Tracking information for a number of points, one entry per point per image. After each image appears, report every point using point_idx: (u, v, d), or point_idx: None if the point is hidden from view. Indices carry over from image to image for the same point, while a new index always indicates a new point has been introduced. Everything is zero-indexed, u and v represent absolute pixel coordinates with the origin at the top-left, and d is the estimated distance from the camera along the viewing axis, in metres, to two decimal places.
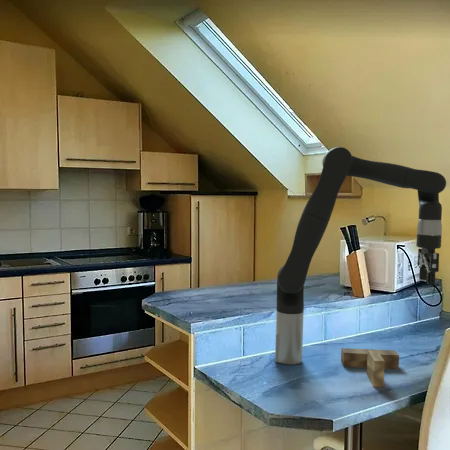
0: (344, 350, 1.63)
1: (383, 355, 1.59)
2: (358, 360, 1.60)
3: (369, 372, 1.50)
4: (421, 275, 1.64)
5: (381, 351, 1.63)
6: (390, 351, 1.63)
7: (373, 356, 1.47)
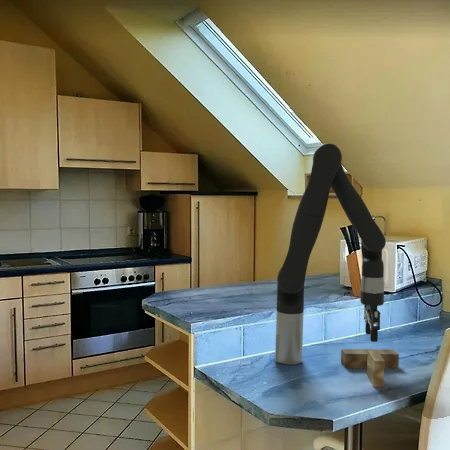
0: (345, 351, 1.62)
1: (383, 355, 1.60)
2: (359, 361, 1.60)
3: (369, 372, 1.50)
4: (367, 330, 1.66)
5: (380, 351, 1.63)
6: (389, 350, 1.64)
7: (373, 356, 1.47)
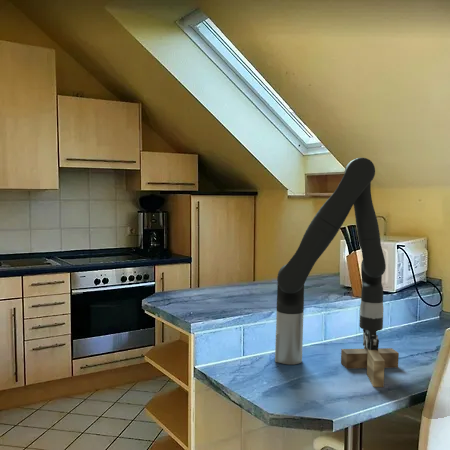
0: (346, 351, 1.61)
1: (384, 354, 1.60)
2: (360, 360, 1.59)
3: (369, 372, 1.50)
4: None
5: (380, 350, 1.63)
6: (388, 349, 1.65)
7: (373, 356, 1.47)
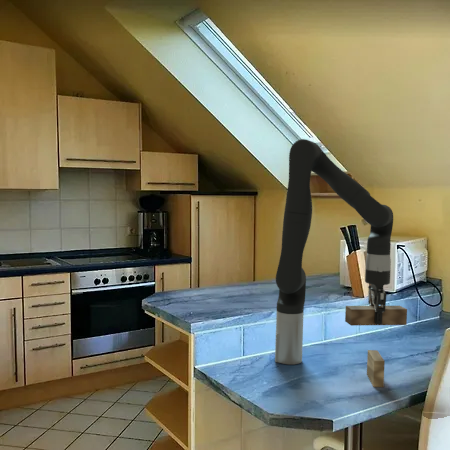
0: (350, 307, 1.50)
1: (391, 310, 1.49)
2: (366, 317, 1.49)
3: (369, 372, 1.50)
4: None
5: (387, 306, 1.53)
6: (395, 306, 1.54)
7: (373, 356, 1.47)
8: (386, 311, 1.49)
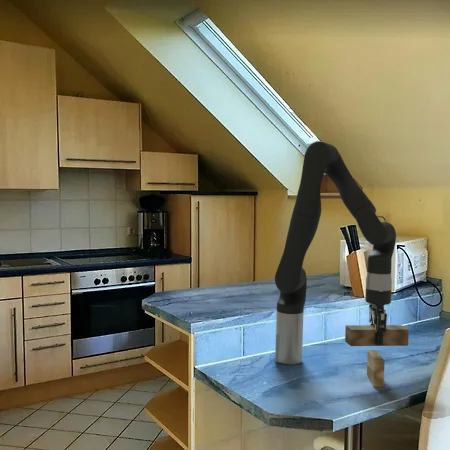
0: (350, 327, 1.47)
1: (392, 330, 1.46)
2: (366, 337, 1.45)
3: (369, 372, 1.50)
4: None
5: (388, 326, 1.49)
6: (397, 325, 1.50)
7: (373, 356, 1.47)
8: (387, 331, 1.45)
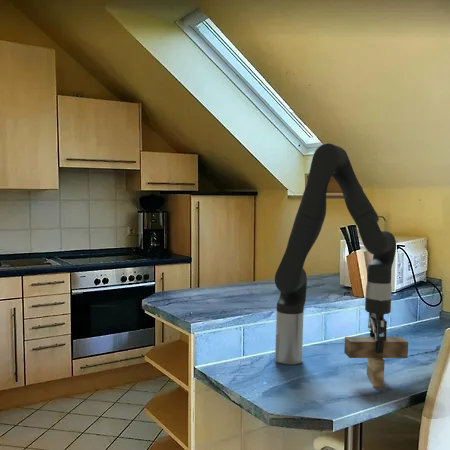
0: (349, 339, 1.47)
1: (391, 342, 1.46)
2: (365, 349, 1.45)
3: (369, 372, 1.50)
4: None
5: (388, 338, 1.49)
6: (396, 337, 1.50)
7: None
8: (386, 344, 1.46)
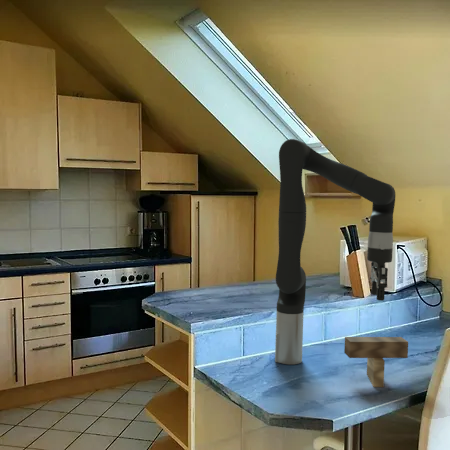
0: (349, 339, 1.47)
1: (391, 342, 1.46)
2: (365, 349, 1.45)
3: (369, 372, 1.50)
4: (373, 290, 1.56)
5: (388, 338, 1.49)
6: (396, 337, 1.50)
7: None
8: (386, 344, 1.46)
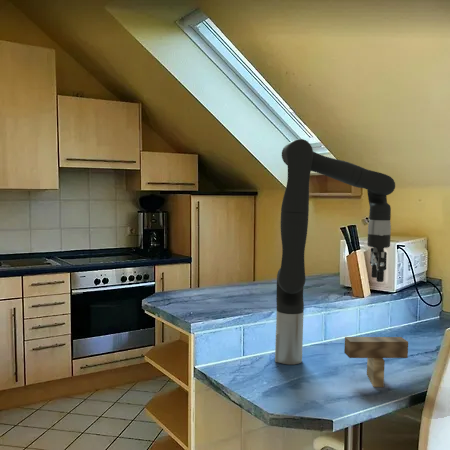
0: (349, 339, 1.47)
1: (391, 342, 1.46)
2: (365, 349, 1.45)
3: (369, 372, 1.50)
4: (373, 273, 1.71)
5: (388, 338, 1.49)
6: (396, 337, 1.50)
7: None
8: (386, 344, 1.46)
